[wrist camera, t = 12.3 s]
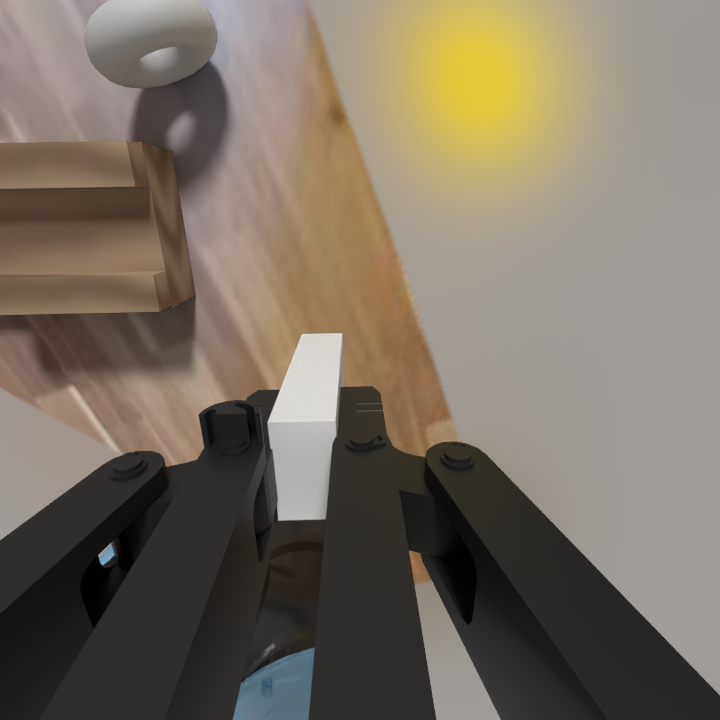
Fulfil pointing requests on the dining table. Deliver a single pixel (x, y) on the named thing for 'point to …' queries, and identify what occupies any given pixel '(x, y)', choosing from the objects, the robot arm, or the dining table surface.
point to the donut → (150, 40)
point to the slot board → (91, 229)
